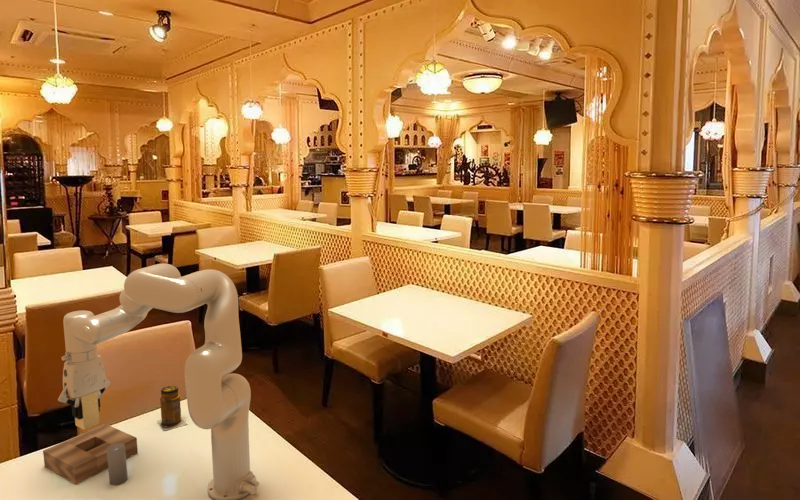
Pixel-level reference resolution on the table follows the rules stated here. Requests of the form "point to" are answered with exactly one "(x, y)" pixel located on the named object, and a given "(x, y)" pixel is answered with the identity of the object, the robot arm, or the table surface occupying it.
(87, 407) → the square peg
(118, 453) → the round peg
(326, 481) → the table surface
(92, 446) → the socket block
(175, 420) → the condiment
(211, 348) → the robot arm
